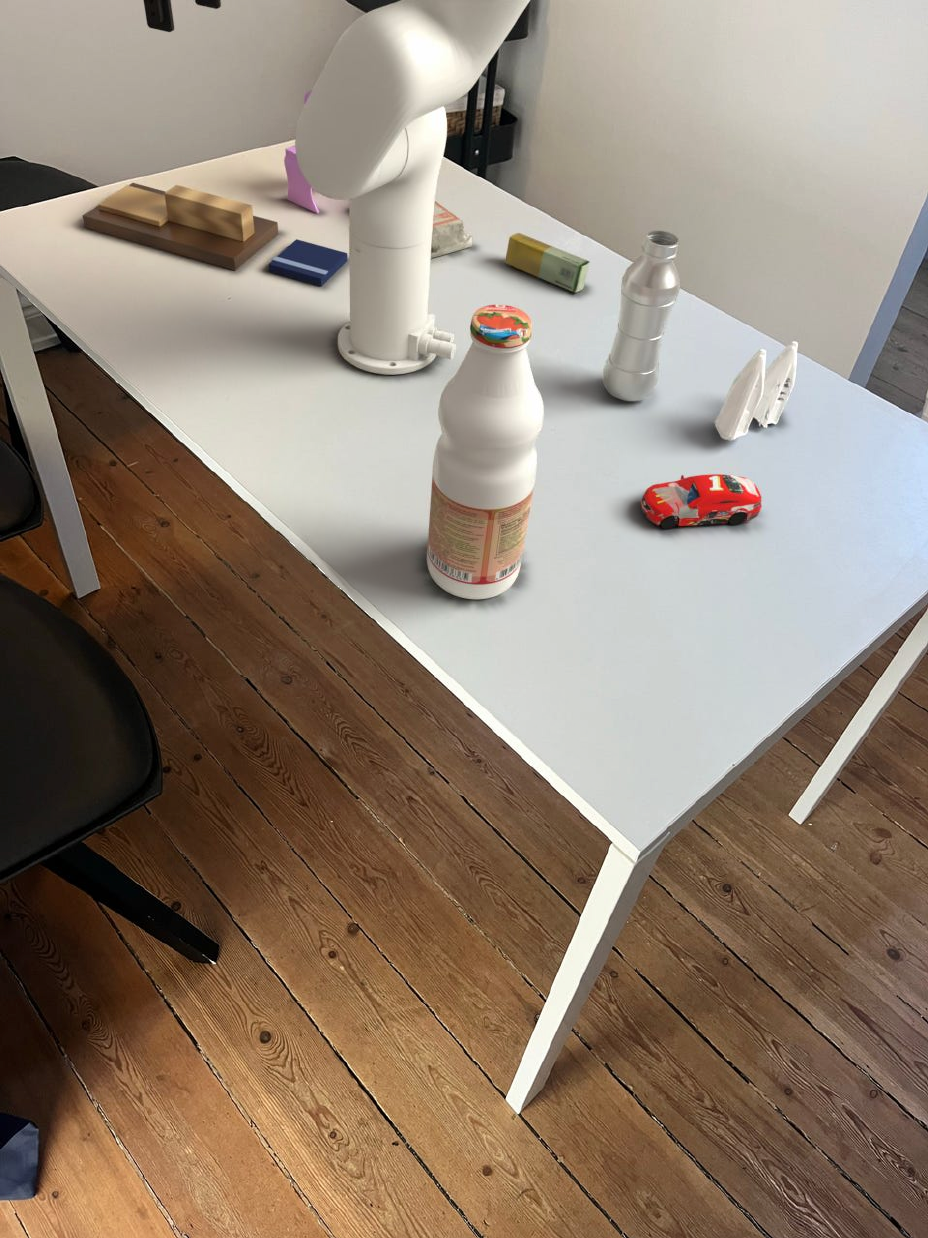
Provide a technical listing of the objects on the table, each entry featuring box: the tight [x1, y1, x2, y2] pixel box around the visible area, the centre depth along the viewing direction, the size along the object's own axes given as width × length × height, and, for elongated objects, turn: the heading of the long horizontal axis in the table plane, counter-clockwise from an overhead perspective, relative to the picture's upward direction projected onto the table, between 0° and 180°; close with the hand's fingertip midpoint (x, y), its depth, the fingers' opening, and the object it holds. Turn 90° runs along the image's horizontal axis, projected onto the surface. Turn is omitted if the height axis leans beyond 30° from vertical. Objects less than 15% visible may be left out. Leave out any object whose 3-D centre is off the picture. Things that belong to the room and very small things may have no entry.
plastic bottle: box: [602, 229, 681, 402], centre depth 114 cm, size 6×7×20 cm
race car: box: [640, 473, 762, 530], centre depth 106 cm, size 13×5×4 cm, turn 98°
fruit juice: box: [426, 304, 545, 600], centre depth 88 cm, size 9×9×28 cm
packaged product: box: [431, 200, 473, 259], centre depth 143 cm, size 18×5×10 cm
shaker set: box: [714, 341, 799, 441], centre depth 114 cm, size 12×4×11 cm, turn 130°
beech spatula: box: [97, 184, 254, 242], centre depth 137 cm, size 22×7×4 cm, turn 69°
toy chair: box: [283, 88, 320, 214], centre depth 144 cm, size 8×9×15 cm
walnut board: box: [82, 182, 279, 272], centre depth 139 cm, size 24×12×2 cm, turn 69°
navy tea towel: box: [267, 239, 348, 287], centre depth 135 cm, size 8×8×1 cm
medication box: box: [504, 232, 591, 295], centre depth 137 cm, size 12×3×4 cm, turn 57°
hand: (185, 17), depth 113 cm, fingers open, 9 cm apart
